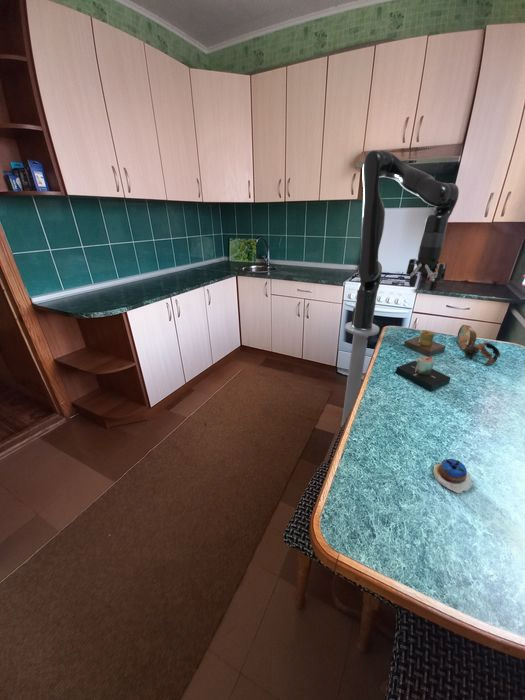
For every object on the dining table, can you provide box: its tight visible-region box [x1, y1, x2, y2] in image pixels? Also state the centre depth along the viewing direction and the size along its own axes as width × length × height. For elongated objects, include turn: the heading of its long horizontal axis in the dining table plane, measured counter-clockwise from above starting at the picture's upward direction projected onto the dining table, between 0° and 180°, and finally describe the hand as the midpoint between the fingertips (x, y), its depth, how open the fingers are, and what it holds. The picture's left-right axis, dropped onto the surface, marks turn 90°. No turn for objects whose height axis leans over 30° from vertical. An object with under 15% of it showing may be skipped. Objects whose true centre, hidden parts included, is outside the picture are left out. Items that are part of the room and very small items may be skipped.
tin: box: [456, 324, 477, 351], centre depth 124 cm, size 15×3×8 cm, turn 161°
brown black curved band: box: [463, 341, 501, 366], centre depth 114 cm, size 12×10×8 cm
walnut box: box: [403, 335, 446, 357], centre depth 124 cm, size 12×10×3 cm
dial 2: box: [415, 355, 435, 376], centre depth 102 cm, size 5×5×5 cm
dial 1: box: [419, 329, 435, 346], centre depth 123 cm, size 5×5×5 cm
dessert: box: [433, 458, 473, 494], centre depth 66 cm, size 8×7×6 cm
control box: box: [395, 360, 452, 392], centre depth 103 cm, size 14×10×3 cm
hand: (421, 288), depth 114 cm, fingers open, 8 cm apart
